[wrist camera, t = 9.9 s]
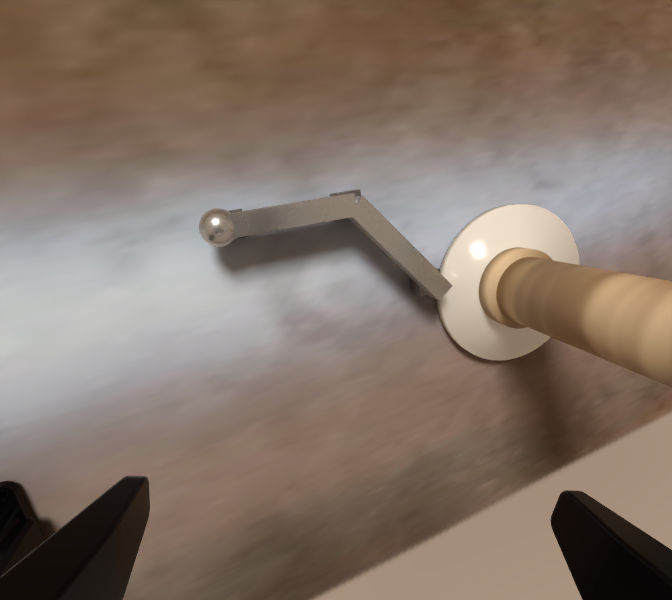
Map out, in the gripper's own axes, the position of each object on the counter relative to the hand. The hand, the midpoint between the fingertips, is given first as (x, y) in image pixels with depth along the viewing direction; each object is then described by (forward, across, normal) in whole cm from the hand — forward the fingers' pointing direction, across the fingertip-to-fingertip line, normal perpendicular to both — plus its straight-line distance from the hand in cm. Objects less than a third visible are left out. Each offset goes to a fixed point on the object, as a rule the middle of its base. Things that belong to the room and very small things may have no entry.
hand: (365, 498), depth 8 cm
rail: (+13, 0, -2) cm, 13 cm away
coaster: (+14, -10, -1) cm, 18 cm away
